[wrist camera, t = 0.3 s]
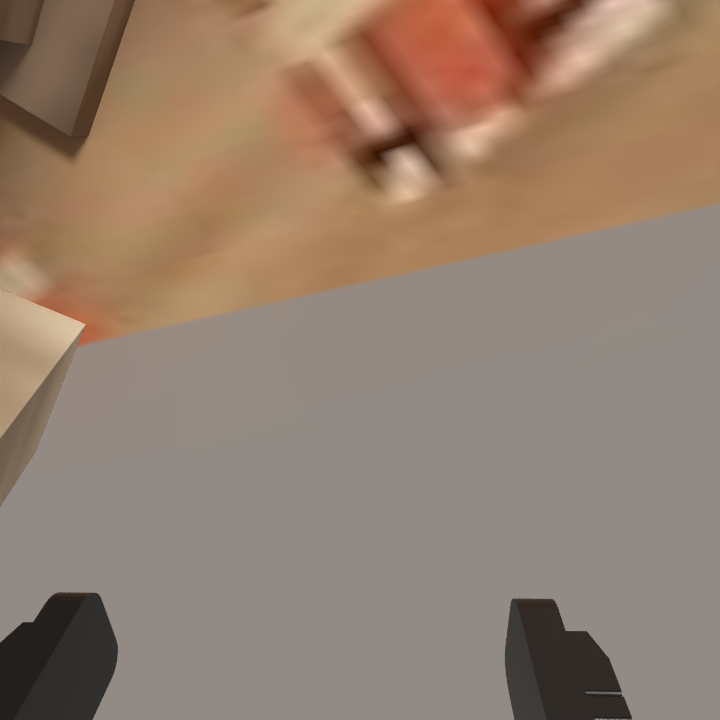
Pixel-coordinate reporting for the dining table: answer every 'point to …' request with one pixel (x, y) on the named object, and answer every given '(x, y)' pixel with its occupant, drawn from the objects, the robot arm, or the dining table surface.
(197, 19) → the dining table surface
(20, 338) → the mallet
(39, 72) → the stand
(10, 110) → the dining table surface
